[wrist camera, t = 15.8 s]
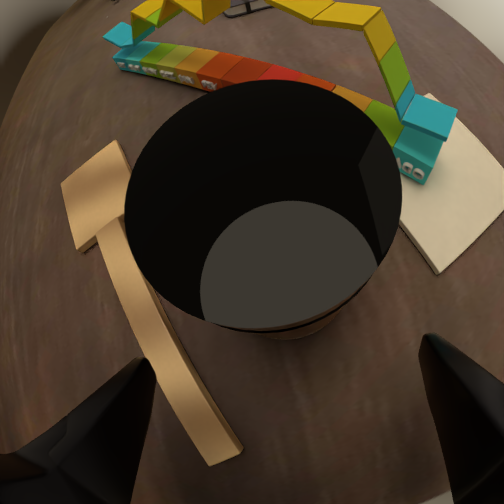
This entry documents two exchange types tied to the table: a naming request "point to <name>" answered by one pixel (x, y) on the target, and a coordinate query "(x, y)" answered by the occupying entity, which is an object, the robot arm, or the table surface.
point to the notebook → (245, 7)
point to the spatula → (142, 298)
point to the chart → (245, 69)
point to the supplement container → (264, 207)
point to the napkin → (452, 198)
